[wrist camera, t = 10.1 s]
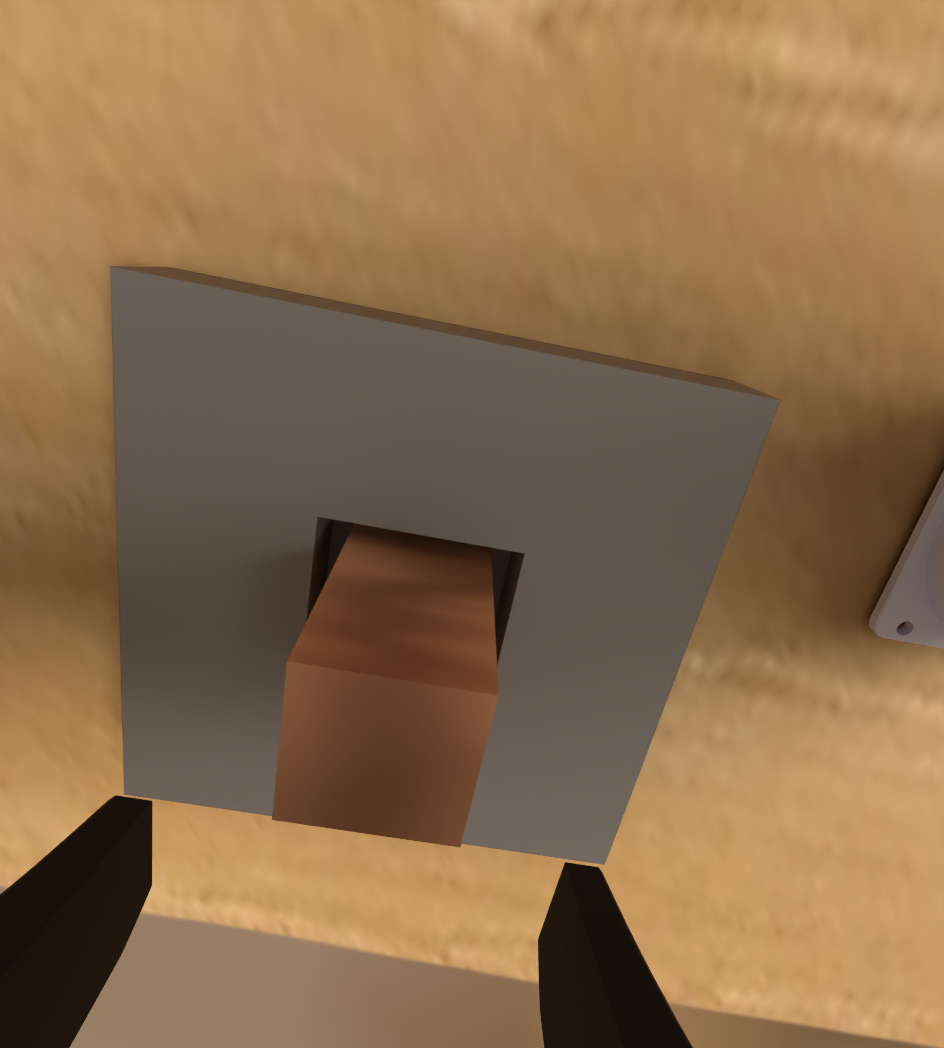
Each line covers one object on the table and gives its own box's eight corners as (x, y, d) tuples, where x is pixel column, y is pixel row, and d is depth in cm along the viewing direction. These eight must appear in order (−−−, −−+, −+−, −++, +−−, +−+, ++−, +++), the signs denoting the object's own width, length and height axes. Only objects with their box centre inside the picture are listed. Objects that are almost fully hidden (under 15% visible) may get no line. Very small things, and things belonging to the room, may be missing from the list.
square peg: (490, 532, 19) (498, 695, 12) (466, 640, 21) (460, 847, 13) (361, 509, 19) (287, 661, 11) (346, 620, 20) (272, 819, 13)
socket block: (732, 380, 18) (780, 400, 15) (589, 795, 24) (604, 864, 21) (171, 267, 17) (110, 266, 14) (167, 730, 23) (124, 794, 20)
